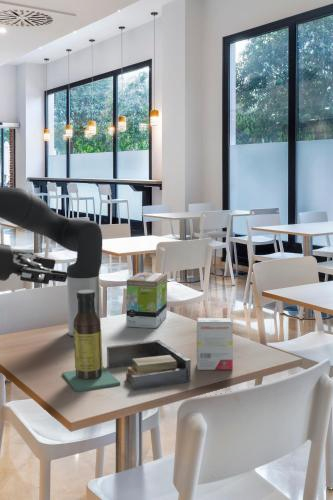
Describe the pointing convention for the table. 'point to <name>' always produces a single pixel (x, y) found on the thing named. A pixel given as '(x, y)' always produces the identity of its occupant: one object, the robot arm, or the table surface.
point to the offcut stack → (151, 365)
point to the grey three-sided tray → (128, 352)
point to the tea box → (146, 300)
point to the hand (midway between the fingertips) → (60, 270)
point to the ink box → (214, 344)
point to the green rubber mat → (90, 380)
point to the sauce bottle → (87, 337)
